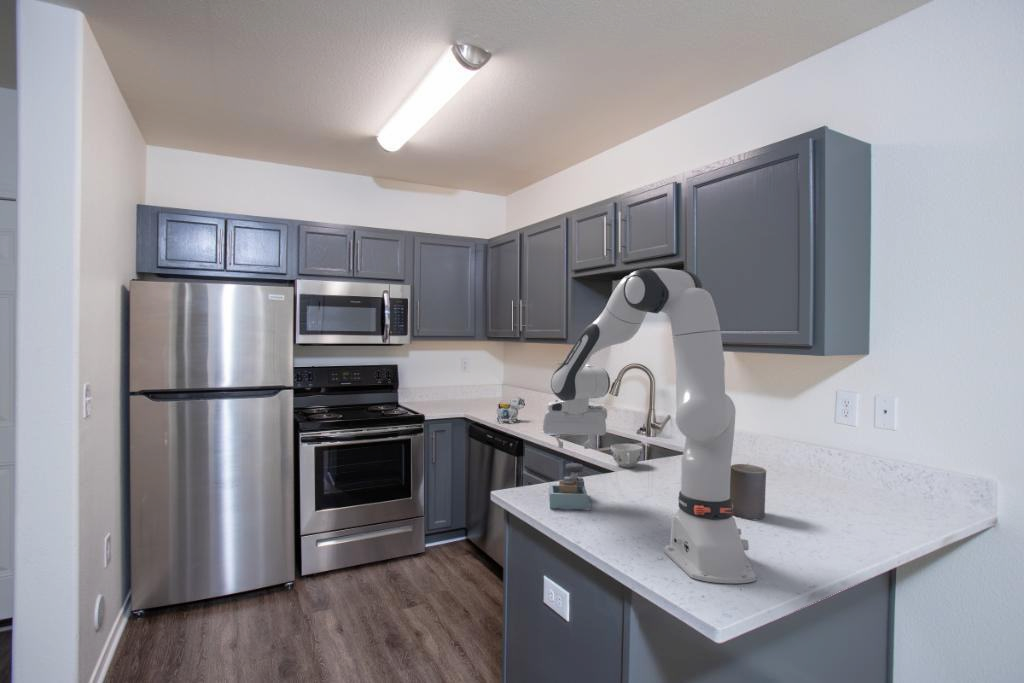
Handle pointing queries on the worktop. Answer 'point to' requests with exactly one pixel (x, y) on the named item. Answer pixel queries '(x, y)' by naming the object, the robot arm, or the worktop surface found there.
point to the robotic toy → (510, 410)
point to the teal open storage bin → (569, 497)
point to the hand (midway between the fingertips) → (573, 448)
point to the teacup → (626, 454)
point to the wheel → (574, 469)
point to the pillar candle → (748, 491)
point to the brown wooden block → (567, 486)
